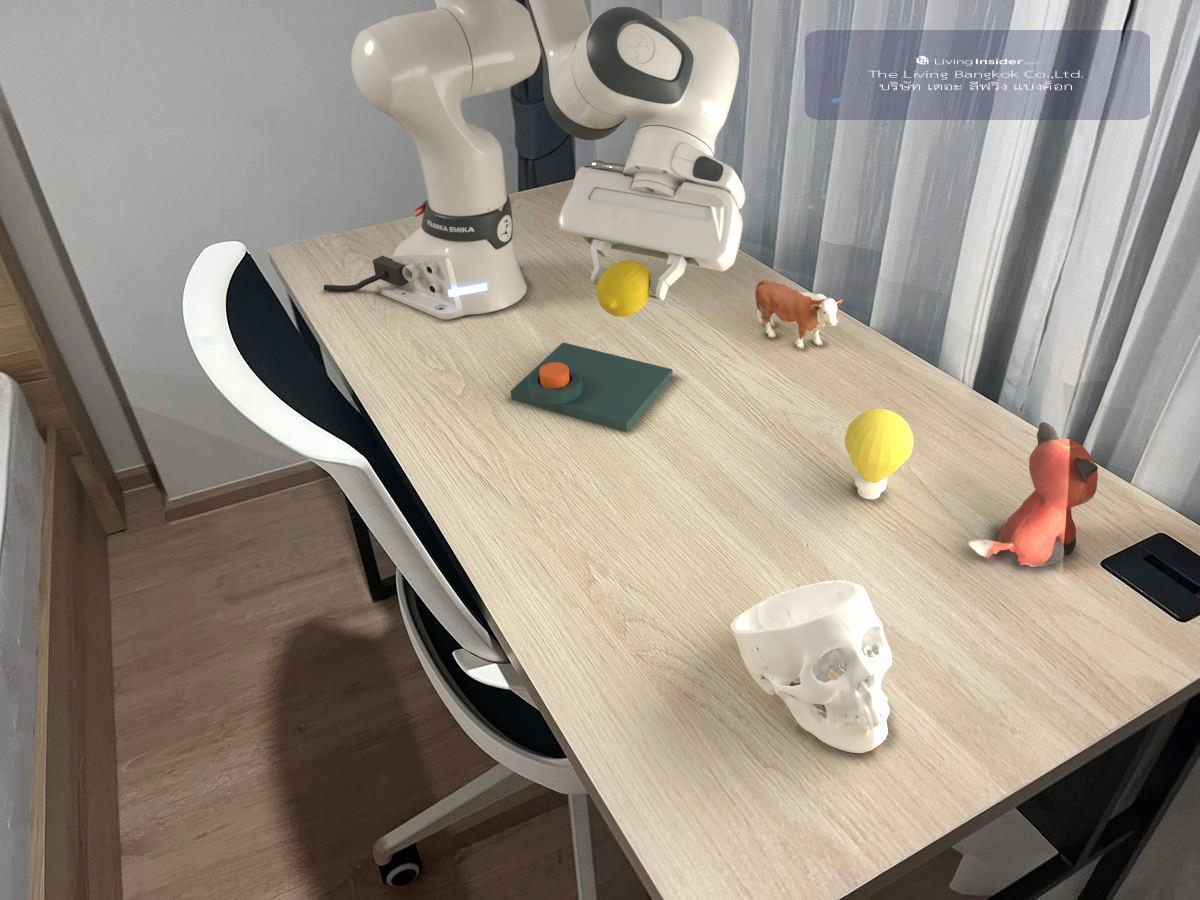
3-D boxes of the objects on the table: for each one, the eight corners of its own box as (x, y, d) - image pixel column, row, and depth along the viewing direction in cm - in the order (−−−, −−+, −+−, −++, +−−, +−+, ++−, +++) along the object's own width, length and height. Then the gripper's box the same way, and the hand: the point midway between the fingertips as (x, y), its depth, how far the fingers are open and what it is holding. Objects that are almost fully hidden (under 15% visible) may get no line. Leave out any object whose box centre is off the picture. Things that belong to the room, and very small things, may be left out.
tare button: (534, 385, 109) (533, 373, 108) (549, 371, 112) (548, 359, 111) (560, 392, 108) (559, 380, 107) (575, 378, 110) (574, 366, 109)
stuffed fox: (944, 539, 89) (970, 442, 82) (1032, 508, 93) (1065, 412, 85) (998, 589, 84) (1031, 490, 76) (1090, 554, 87) (1130, 456, 80)
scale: (508, 403, 111) (505, 382, 109) (563, 351, 121) (562, 331, 119) (623, 436, 105) (623, 415, 103) (672, 378, 114) (672, 358, 112)
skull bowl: (844, 790, 66) (797, 638, 65) (739, 735, 79) (698, 607, 77) (945, 724, 70) (904, 580, 69) (830, 682, 83) (793, 560, 81)
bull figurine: (825, 365, 116) (833, 309, 111) (746, 328, 124) (750, 274, 119) (846, 353, 118) (854, 297, 113) (766, 317, 126) (771, 264, 121)
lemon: (602, 335, 96) (635, 303, 101) (640, 318, 92) (673, 285, 98) (574, 291, 94) (609, 261, 100) (611, 272, 90) (646, 241, 96)
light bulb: (824, 482, 97) (835, 406, 91) (875, 466, 99) (890, 389, 93) (862, 520, 92) (876, 441, 86) (915, 501, 94) (933, 423, 88)
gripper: (571, 144, 98) (531, 262, 98) (748, 171, 90) (706, 300, 90) (592, 170, 104) (554, 282, 103) (760, 198, 96) (720, 320, 95)
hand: (626, 291), depth 96 cm, fingers closed on lemon, 5 cm apart
